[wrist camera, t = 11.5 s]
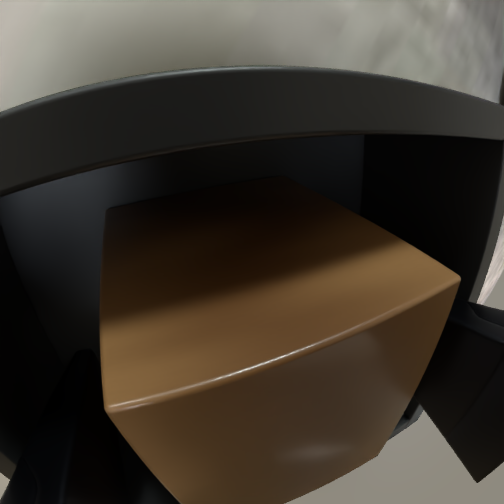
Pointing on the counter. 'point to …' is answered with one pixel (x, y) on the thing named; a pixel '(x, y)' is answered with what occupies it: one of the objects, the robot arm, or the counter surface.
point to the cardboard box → (261, 337)
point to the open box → (217, 174)
